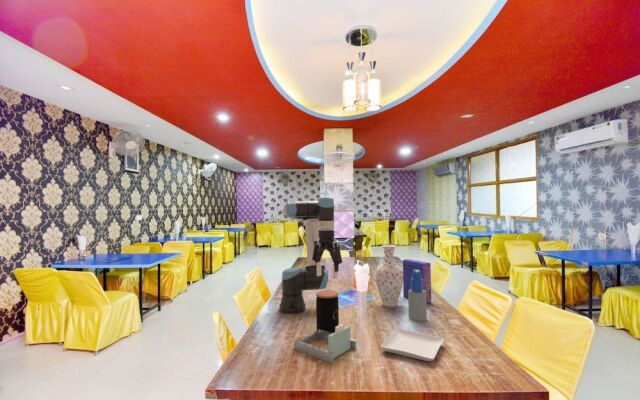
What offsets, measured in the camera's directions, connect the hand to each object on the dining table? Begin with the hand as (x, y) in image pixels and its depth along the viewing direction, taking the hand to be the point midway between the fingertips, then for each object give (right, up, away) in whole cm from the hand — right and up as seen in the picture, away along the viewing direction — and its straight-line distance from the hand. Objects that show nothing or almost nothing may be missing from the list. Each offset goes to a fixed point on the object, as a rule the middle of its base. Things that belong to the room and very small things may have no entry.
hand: (326, 277), depth 151 cm
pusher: (+5, -25, -24) cm, 35 cm away
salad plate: (+35, -25, -20) cm, 48 cm away
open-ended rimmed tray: (-1, -25, -19) cm, 32 cm away
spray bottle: (+47, -25, +14) cm, 56 cm away
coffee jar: (0, -26, 0) cm, 26 cm away
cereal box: (+57, -26, +47) cm, 78 cm away
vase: (+38, -26, +37) cm, 59 cm away
